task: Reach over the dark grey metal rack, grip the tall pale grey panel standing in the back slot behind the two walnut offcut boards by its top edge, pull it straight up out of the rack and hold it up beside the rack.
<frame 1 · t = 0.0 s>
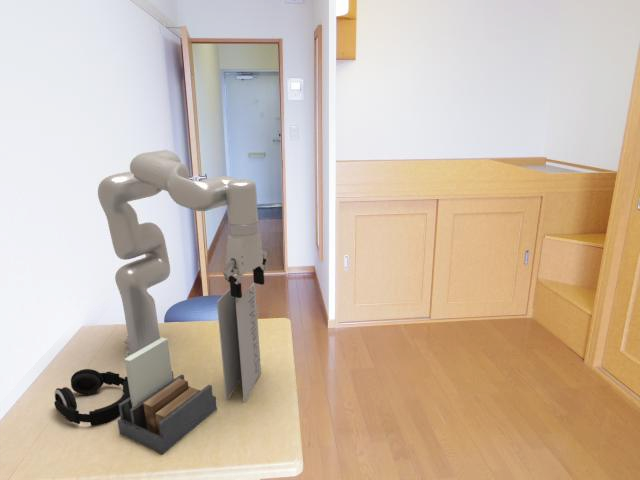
hand: (248, 290, 124), 31 cm above the table, tool pointing down, fingers open, 9 cm apart
offcut short: (181, 426, 119), resting in rack
offcut tall: (170, 421, 121), resting in rack
headphones: (96, 406, 128), on the table
brochure: (244, 387, 135), on the table
rack: (167, 419, 122), on the table
pale grey panel: (156, 415, 124), resting in rack
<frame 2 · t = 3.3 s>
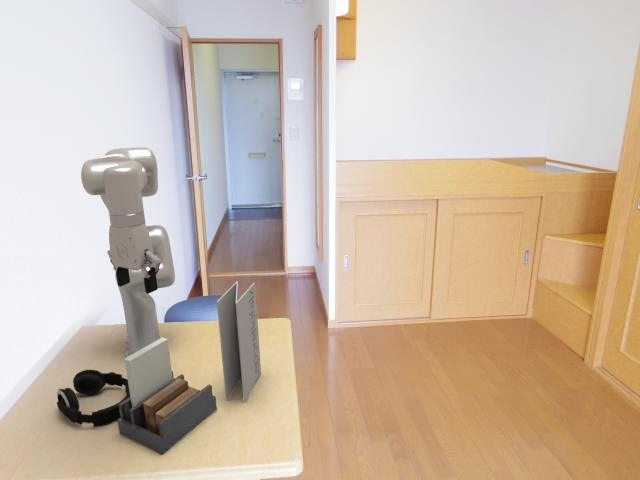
hand: (137, 288, 113), 37 cm above the table, tool pointing down, fingers open, 9 cm apart
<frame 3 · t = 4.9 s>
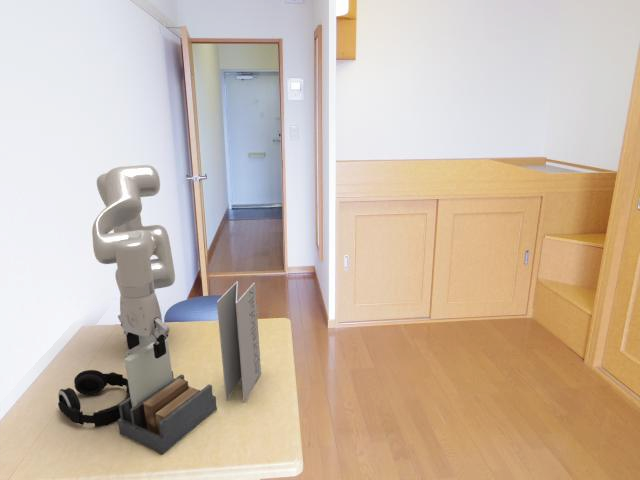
hand: (147, 351, 118), 19 cm above the table, tool pointing down, fingers open, 9 cm apart
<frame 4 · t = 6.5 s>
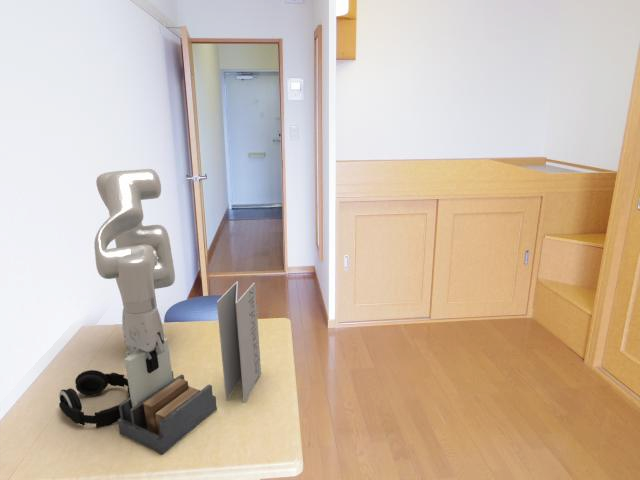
hand: (149, 368, 120), 14 cm above the table, tool pointing down, fingers closed on pale grey panel, 2 cm apart
pale grey panel: (156, 414, 124), resting in rack, touching gripper
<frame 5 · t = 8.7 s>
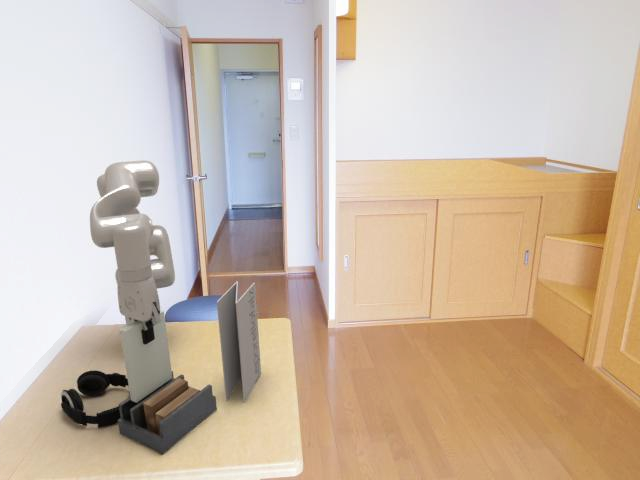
hand: (145, 340, 117), 22 cm above the table, tool pointing down, fingers closed on pale grey panel
pale grey panel: (152, 388, 122), point 8 cm above the table, touching gripper
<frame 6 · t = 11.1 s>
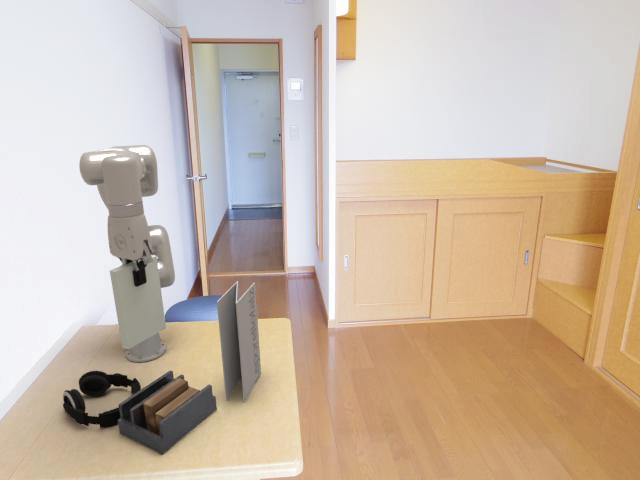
hand: (137, 283, 113), 38 cm above the table, tool pointing down, fingers closed on pale grey panel
pale grey panel: (145, 337, 117), point 23 cm above the table, touching gripper
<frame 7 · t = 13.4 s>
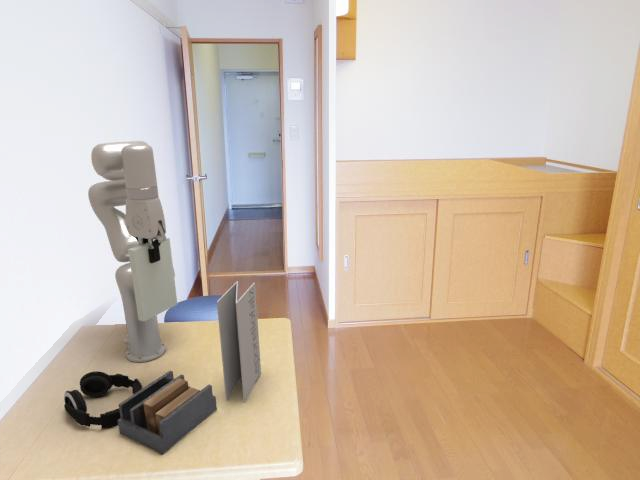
hand: (151, 260, 125), 39 cm above the table, tool pointing down, fingers closed on pale grey panel
pale grey panel: (158, 311, 129), point 24 cm above the table, touching gripper
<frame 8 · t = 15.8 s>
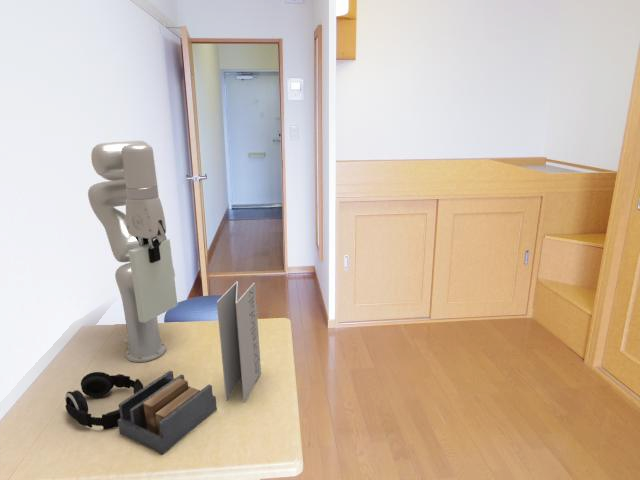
hand: (151, 260, 125), 39 cm above the table, tool pointing down, fingers closed on pale grey panel
pale grey panel: (158, 313, 129), point 23 cm above the table, touching gripper
at the end: the gripper is holding pale grey panel; pale grey panel inside the target area (0.0 cm from its centre), point 23.4 cm above the table; pale grey panel touching gripper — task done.
